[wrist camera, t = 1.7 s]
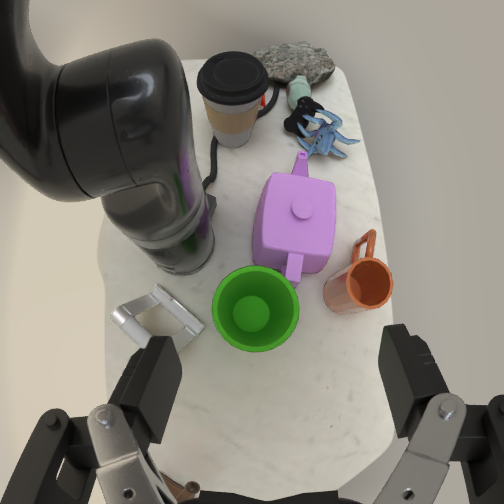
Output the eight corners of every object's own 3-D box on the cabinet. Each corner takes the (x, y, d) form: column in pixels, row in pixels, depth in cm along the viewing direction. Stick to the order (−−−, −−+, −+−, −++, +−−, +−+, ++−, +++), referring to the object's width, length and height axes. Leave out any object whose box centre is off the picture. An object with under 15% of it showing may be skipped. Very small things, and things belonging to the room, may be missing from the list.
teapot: (261, 170, 48) (267, 133, 38) (328, 182, 48) (348, 148, 39) (244, 287, 44) (247, 274, 34) (319, 297, 44) (342, 287, 34)
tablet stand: (206, 325, 42) (199, 324, 34) (170, 368, 41) (155, 376, 33) (159, 285, 43) (142, 274, 35) (124, 326, 42) (101, 325, 33)
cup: (225, 275, 44) (222, 256, 34) (289, 288, 44) (306, 275, 33) (211, 338, 42) (203, 341, 31) (277, 352, 42) (290, 359, 31)
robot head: (307, 126, 51) (316, 102, 44) (283, 124, 51) (289, 99, 44) (304, 93, 53) (311, 68, 46) (282, 91, 52) (287, 65, 46)
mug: (357, 318, 44) (388, 313, 34) (318, 308, 44) (341, 302, 34) (369, 251, 46) (400, 231, 36) (333, 240, 46) (357, 217, 36)
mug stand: (172, 516, 34) (157, 561, 22) (137, 494, 35) (111, 534, 23) (224, 462, 38) (220, 503, 25) (185, 437, 38) (169, 472, 26)
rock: (309, 40, 54) (334, 29, 45) (323, 81, 58) (351, 76, 50) (228, 61, 52) (243, 49, 43) (245, 105, 56) (263, 101, 47)
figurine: (347, 159, 51) (331, 188, 48) (287, 121, 51) (265, 147, 48) (373, 123, 42) (359, 152, 39) (305, 81, 43) (282, 105, 39)
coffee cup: (216, 107, 51) (212, 42, 37) (268, 120, 51) (278, 56, 36) (195, 149, 49) (183, 86, 34) (251, 165, 48) (257, 103, 34)
